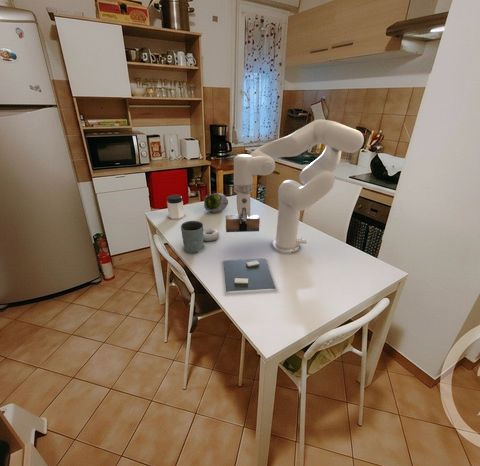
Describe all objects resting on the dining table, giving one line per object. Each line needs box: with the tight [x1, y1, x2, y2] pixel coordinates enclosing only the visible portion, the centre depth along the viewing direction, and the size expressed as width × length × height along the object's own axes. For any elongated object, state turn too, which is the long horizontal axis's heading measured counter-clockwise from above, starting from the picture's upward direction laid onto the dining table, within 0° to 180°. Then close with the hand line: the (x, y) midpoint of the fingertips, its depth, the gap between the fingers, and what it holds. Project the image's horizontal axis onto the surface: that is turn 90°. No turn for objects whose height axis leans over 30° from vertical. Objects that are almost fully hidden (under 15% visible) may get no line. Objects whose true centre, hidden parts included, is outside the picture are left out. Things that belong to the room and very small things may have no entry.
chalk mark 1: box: [235, 278, 248, 284], centre depth 98 cm, size 5×2×1 cm, turn 88°
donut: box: [203, 227, 220, 242], centre depth 130 cm, size 10×4×10 cm
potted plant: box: [203, 192, 229, 214], centre depth 158 cm, size 12×13×15 cm
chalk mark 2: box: [246, 261, 259, 267], centre depth 109 cm, size 5×2×1 cm, turn 108°
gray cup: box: [180, 220, 204, 254], centre depth 119 cm, size 10×10×12 cm
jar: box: [166, 194, 185, 220], centre depth 151 cm, size 9×8×12 cm
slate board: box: [223, 258, 276, 292], centre depth 103 cm, size 18×20×1 cm
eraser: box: [225, 214, 261, 233], centre depth 111 cm, size 14×4×6 cm, turn 95°
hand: (242, 228), depth 112 cm, fingers closed on eraser, 4 cm apart
